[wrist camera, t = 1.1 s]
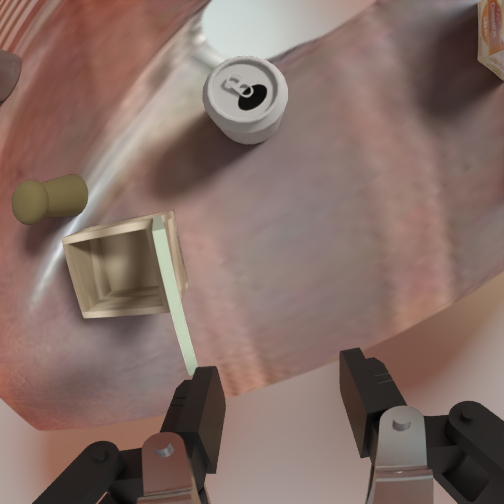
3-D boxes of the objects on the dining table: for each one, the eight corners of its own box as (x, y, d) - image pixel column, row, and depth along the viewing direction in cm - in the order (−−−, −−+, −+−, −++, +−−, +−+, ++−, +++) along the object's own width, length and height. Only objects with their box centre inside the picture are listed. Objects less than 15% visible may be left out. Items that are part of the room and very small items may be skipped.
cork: (81, 167, 36) (30, 168, 25) (93, 208, 37) (44, 220, 26) (52, 183, 36) (0, 189, 26) (62, 222, 38) (13, 237, 27)
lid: (189, 375, 20) (199, 373, 20) (152, 231, 18) (165, 228, 18) (174, 314, 31) (182, 312, 31) (153, 217, 29) (160, 215, 29)
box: (110, 294, 40) (83, 318, 32) (94, 226, 38) (61, 238, 30) (188, 286, 39) (172, 312, 31) (173, 210, 37) (151, 219, 29)
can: (248, 158, 35) (242, 149, 23) (205, 116, 34) (180, 90, 22) (294, 116, 34) (308, 89, 22) (250, 75, 33) (245, 33, 21)
